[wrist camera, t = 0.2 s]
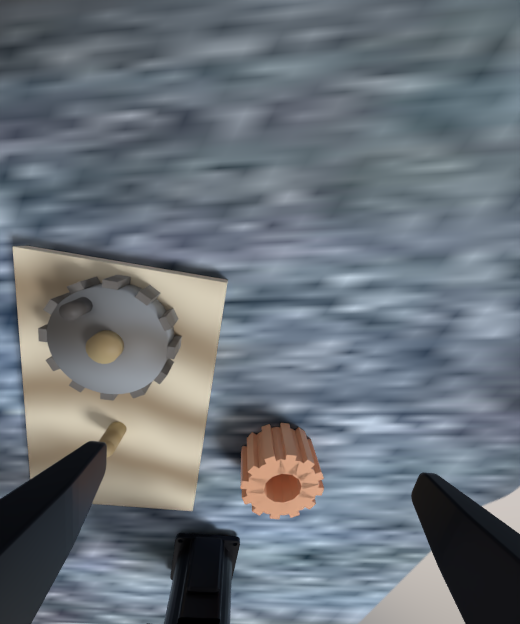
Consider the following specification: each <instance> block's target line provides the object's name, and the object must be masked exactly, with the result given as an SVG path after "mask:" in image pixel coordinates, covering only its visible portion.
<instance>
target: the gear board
mask: <svg viewBox="0 0 520 624" xmlns="http://www.w3.org/2000/svg"><path fill="white" fill-rule="evenodd" d="M13 258H14V272H15V285H16V298H17V311H18V324H19V337H20V350H21V363H22V376H23V390H24V403H25V416H26V429H27V442H28V455H29V468H30V479H32V478H33V477H35V476H36V475H38V474H39V473H41V472H42V471H44V470H45V469H47V468H48V467H50V466H51V465H53V464H54V463H56V462H58V461H59V460H61V459H62V458H64V457H65V456H67V455H68V454H70V453H71V452H73V451H74V450H76V449H77V448H79V447H80V446H82V445H84V444H85V443H87V442H89V441H99V442H105V443H106V445H107V462H106V471H105V475H104V477H103V480H102V482H101V484H100V486H99V489H98V491H97V493H96V495H95V498H94V500H93V502H92V504H101V505H115V506H129V507H143V508H156V509H170V510H184V511H193V505H194V500H195V493H196V487H197V480H198V473H199V467H200V460H201V454H202V447H203V440H204V434H205V427H206V420H207V414H208V407H209V401H210V394H211V387H212V381H213V374H214V368H215V361H216V354H217V348H218V341H219V334H220V328H221V321H222V315H223V308H224V301H225V295H226V288H227V281H228V280H226V279H220V278H214V277H208V276H202V275H196V274H191V273H185V272H179V271H173V270H167V269H161V268H155V267H150V266H144V265H138V264H132V263H126V262H120V261H114V260H108V259H103V258H97V257H91V256H85V255H79V254H73V253H67V252H62V251H56V250H50V249H44V248H38V247H32V246H14V247H13Z"/></svg>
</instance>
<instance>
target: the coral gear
mask: <svg viewBox="0 0 520 624" xmlns="http://www.w3.org/2000/svg"><path fill="white" fill-rule="evenodd" d="M261 428H262V432H259V433H258V434H257V435H256V434H254V433H253V432H252V433H251V434H250V435H249V436H248V437H247V446H242V450H241V489H242V499H243V501H244V503H245V504H248V503H251V504H252V512H254V513H256V514H258V515H261V514H262V513H263V512H264V513H266V514H270V519H279V518H280V515H287V514H289V515H290V517H295V516H298V515H299V510H302V509H303V508H304V507H306V508H308V509H310V508H312V507H313V506H314V505H315V504H316V502H315V496H316V495H322V493H323V490H324V487H323V484H322V479H324V478H323V475H322V472H321V469H320V466H319V463H318V459H317V456H316V453H315V450H314V447H313V444H312V441H311V439H307V437H306V433H305V431H303V430H302V429H301V428H299V427H298V428H297V429H296V430H293V429H290V425H289V424H287V423H280V427H273V428H271V426H270V424H268V425H265V426H262V427H261Z"/></svg>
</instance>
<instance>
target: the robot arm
mask: <svg viewBox="0 0 520 624" xmlns="http://www.w3.org/2000/svg"><path fill="white" fill-rule="evenodd" d="M106 462H107V445H106V443H105V442H99V441H89V442H87V443H85V444H84V445H82V446H80V447H79V448H77V449H76V450H74V451H73V452H71V453H70V454H68V455H67V456H65V457H64V458H62V459H61V460H59V461H58V462H56V463H54V464H53V465H51V466H50V467H48V468H47V469H45V470H44V471H42V472H41V473H39V474H38V475H36V476H35V477H33V478H32V479H30V480H29V481H27V482H25V483H24V484H22V485H21V486H19V487H18V488H16V489H15V490H13V491H12V492H10V493H9V494H7V495H6V496H4V497H3V498H1V499H0V624H31V623H32V621H33V619H34V617H35V615H36V614H37V612H38V610H39V608H40V606H41V604H42V603H43V601H44V599H45V597H46V595H47V593H48V592H49V590H50V588H51V586H52V584H53V582H54V581H55V579H56V577H57V575H58V573H59V571H60V570H61V568H62V566H63V564H64V562H65V560H66V559H67V557H68V555H69V553H70V551H71V549H72V547H73V545H74V543H75V541H76V538H77V536H78V534H79V532H80V530H81V527H82V525H83V523H84V521H85V518H86V516H87V514H88V511H89V509H90V507H91V505H92V502H93V500H94V498H95V495H96V493H97V491H98V489H99V486H100V484H101V482H102V480H103V477H104V475H105V471H106ZM411 496H412V502H413V505H414V507H415V510H416V512H417V515H418V517H419V520H420V522H421V525H422V528H423V530H424V533H425V535H426V538H427V540H428V543H429V545H430V548H431V550H432V553H433V555H434V557H435V560H436V562H437V565H438V567H439V569H440V571H441V573H442V576H443V578H444V580H445V582H446V584H447V586H448V588H449V590H450V592H451V594H452V597H453V599H454V601H455V603H456V605H457V607H458V609H459V611H460V613H461V615H462V617H463V619H464V622H465V624H520V534H519V533H517V532H516V531H515V530H513V529H512V528H511V527H509V526H508V525H506V524H505V523H504V522H502V521H501V520H499V519H498V518H497V517H495V516H494V515H492V514H491V513H490V512H488V511H487V510H486V509H484V508H483V507H481V506H480V505H479V504H477V503H476V502H474V501H473V500H472V499H470V498H469V497H468V496H466V495H465V494H463V493H462V492H461V491H459V490H458V489H456V488H455V487H454V486H452V485H451V484H450V483H448V482H447V481H445V480H444V479H443V478H441V477H440V476H438V475H437V474H434V473H421V474H420V475H419V477H418V479H417V481H416V484H415V486H414V488H413V491H412V495H411ZM239 546H240V539H239V538H238V537H235V536H219V535H203V534H187V533H179V534H177V536H176V540H175V547H174V555H173V562H172V570H171V580H173V581H172V586H171V591H170V596H169V601H168V606H167V611H166V616H165V621H164V624H230V608H231V580H232V576H233V572H234V568H235V563H236V559H237V555H238V550H239ZM147 624H148V623H147Z"/></svg>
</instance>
